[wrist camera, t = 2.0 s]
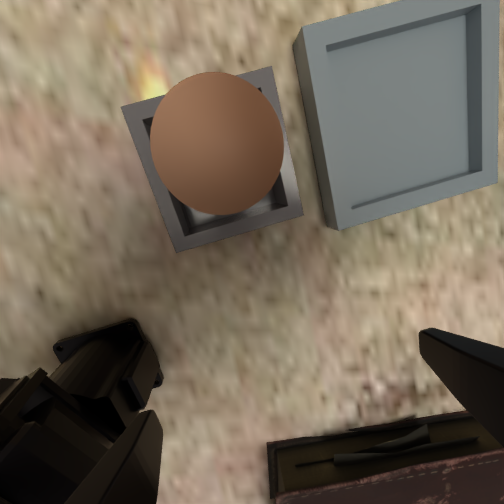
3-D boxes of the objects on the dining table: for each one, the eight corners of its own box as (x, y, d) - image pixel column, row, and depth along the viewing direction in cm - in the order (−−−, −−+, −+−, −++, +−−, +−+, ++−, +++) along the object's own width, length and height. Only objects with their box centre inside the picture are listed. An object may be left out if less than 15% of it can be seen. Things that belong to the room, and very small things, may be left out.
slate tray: (326, 226, 19) (338, 230, 18) (292, 45, 16) (302, 26, 14) (470, 183, 20) (497, 182, 18) (467, -2, 17) (499, -26, 15)
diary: (457, 509, 32) (498, 565, 28) (271, 546, 30) (280, 616, 25) (487, 397, 27) (544, 443, 22) (265, 431, 25) (275, 491, 20)
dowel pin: (202, 206, 18) (178, 230, 8) (183, 147, 16) (127, 92, 7) (256, 190, 18) (296, 195, 8) (240, 131, 17) (265, 55, 7)
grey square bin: (185, 239, 18) (176, 253, 15) (144, 125, 16) (120, 106, 12) (287, 209, 19) (303, 215, 15) (260, 94, 17) (271, 66, 13)
